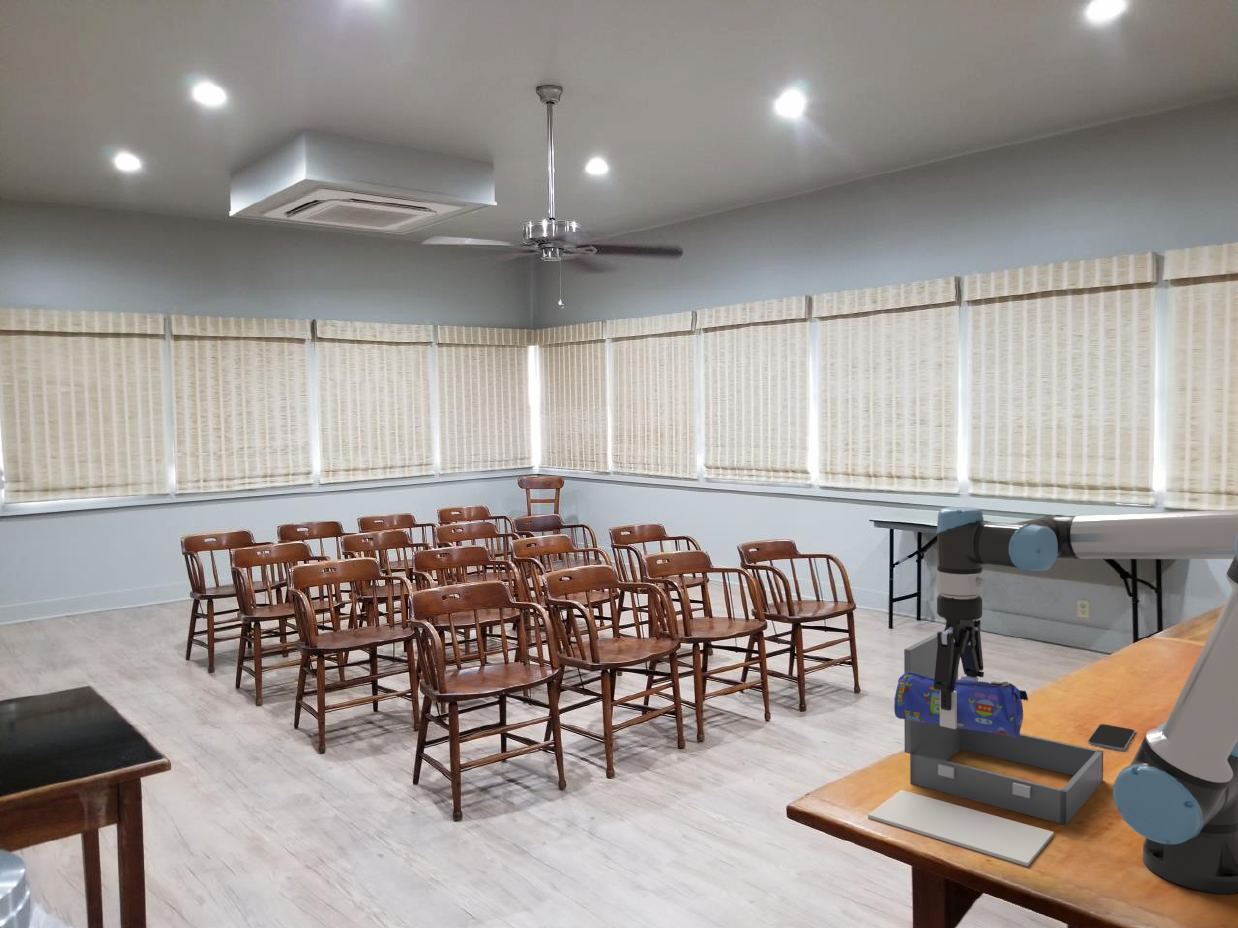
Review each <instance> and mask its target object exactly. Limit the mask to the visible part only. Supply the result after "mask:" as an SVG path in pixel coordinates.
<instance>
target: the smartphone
mask: <svg viewBox="0 0 1238 928" xmlns="http://www.w3.org/2000/svg"><path fill="white" fill-rule="evenodd" d="M1135 734H1136V730H1135V729H1133V728H1127V727H1122V726H1116V725H1110V724H1105V723H1104V724H1103V723H1100V724H1099V725H1098V726H1097V727H1096V729H1095V730H1094V731H1093V733H1092V734H1091V735H1090V737H1089V738H1088V740H1087V744H1088V743H1089V744H1091V745H1090V746H1092V745H1095V746H1094V747H1097V746H1100V747H1099V748H1102V747H1105V748H1104V749H1107V748H1109V749H1108V750H1112V749H1114V750H1113V751H1118V750H1119V752H1125V751H1126V750H1127V748H1128V747H1129V745H1130V743H1131V741H1132V740H1133V738H1134V736H1135ZM1132 737H1133V738H1132ZM1089 744H1088V745H1089Z"/></svg>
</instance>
